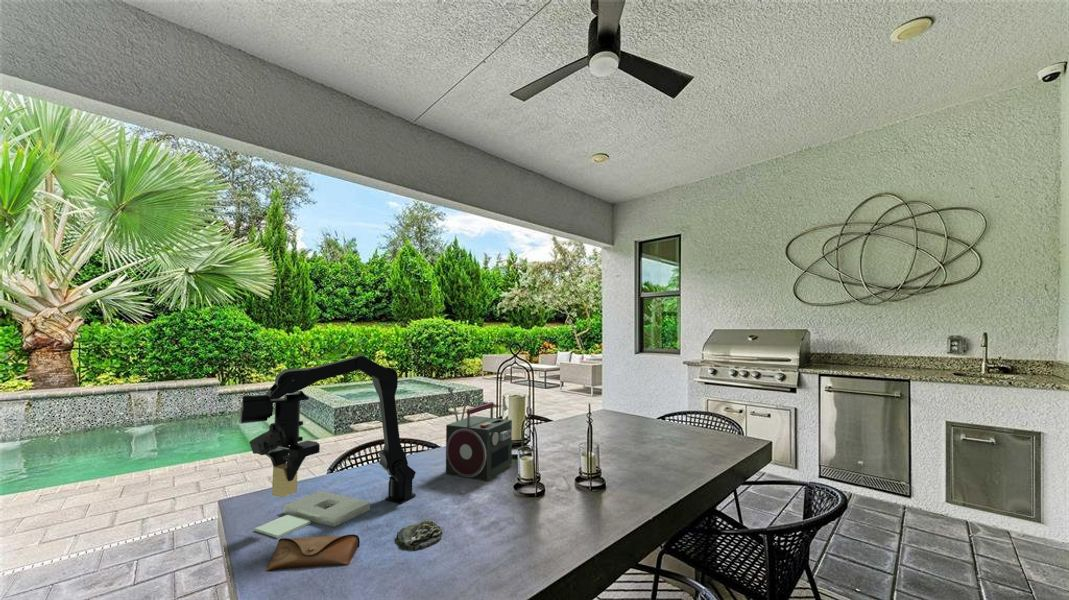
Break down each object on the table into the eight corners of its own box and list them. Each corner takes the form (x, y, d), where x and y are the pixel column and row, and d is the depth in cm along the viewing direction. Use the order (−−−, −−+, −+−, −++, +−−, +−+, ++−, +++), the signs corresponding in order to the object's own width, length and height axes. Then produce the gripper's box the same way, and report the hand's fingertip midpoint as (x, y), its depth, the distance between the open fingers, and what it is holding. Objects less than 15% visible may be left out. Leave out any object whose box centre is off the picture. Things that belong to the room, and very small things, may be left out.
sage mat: (310, 523, 114) (310, 520, 114) (277, 538, 106) (277, 535, 106) (288, 516, 118) (288, 514, 118) (254, 530, 110) (254, 528, 110)
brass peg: (296, 491, 114) (297, 464, 114) (282, 497, 110) (283, 469, 110) (286, 489, 115) (287, 462, 116) (272, 494, 112) (273, 466, 112)
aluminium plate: (369, 509, 123) (370, 502, 123) (333, 527, 112) (334, 519, 112) (321, 497, 131) (321, 490, 131) (283, 512, 120) (283, 505, 121)
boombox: (490, 482, 144) (490, 391, 146) (439, 473, 153) (440, 387, 155) (515, 466, 160) (515, 384, 162) (468, 459, 169) (469, 381, 171)
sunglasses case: (260, 572, 91) (269, 536, 95) (272, 574, 97) (279, 540, 101) (351, 565, 94) (356, 530, 98) (357, 567, 100) (361, 534, 104)
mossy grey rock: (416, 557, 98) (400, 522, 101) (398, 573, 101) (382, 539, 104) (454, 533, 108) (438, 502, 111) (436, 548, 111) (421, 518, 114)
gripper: (233, 421, 111) (230, 483, 110) (280, 428, 103) (278, 496, 102) (275, 413, 121) (273, 470, 120) (322, 419, 113) (320, 481, 112)
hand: (285, 479), depth 113 cm, fingers closed on brass peg, 4 cm apart
